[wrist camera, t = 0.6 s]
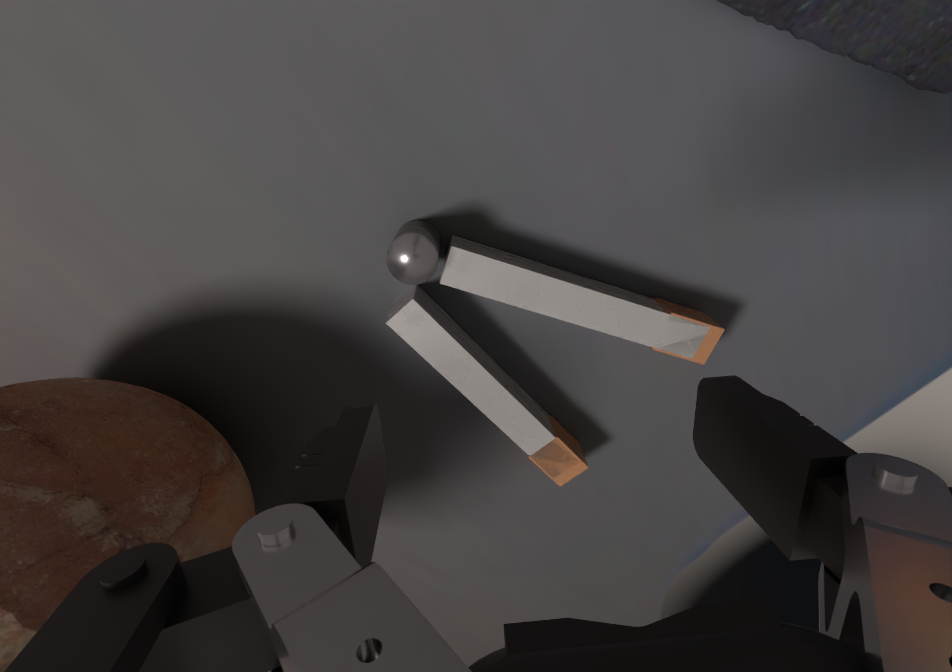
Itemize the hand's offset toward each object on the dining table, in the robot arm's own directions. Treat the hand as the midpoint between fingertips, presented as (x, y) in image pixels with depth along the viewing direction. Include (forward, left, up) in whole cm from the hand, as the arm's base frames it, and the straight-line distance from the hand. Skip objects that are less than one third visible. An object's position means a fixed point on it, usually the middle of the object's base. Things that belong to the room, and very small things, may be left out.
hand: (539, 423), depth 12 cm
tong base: (+6, +7, -22) cm, 23 cm away
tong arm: (-2, +7, -21) cm, 23 cm away
